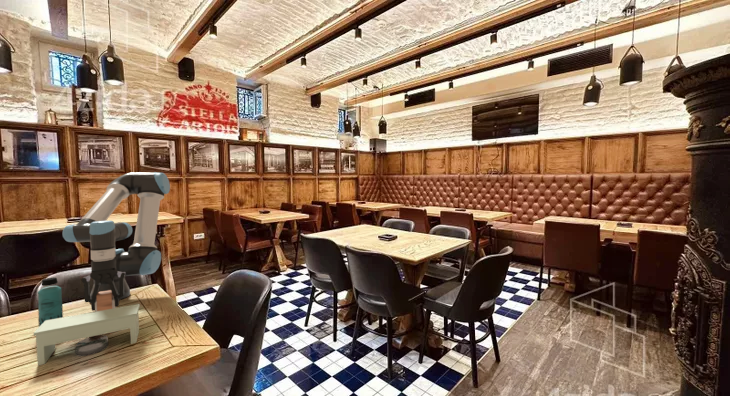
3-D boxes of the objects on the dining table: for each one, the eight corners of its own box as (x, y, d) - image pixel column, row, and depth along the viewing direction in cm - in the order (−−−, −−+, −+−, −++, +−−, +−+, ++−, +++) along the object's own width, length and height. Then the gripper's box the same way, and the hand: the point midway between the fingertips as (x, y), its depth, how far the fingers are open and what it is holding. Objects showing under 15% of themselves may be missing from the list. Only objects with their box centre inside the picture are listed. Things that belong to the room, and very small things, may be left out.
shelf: (47, 350, 99) (45, 320, 99) (140, 330, 113) (139, 303, 112) (35, 366, 91) (33, 333, 90) (138, 342, 104) (136, 313, 104)
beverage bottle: (39, 330, 113) (36, 278, 112) (63, 324, 118) (61, 274, 117) (38, 336, 108) (35, 282, 108) (64, 329, 113) (61, 278, 112)
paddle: (99, 315, 122) (98, 291, 121) (114, 313, 124) (113, 289, 124) (86, 339, 103) (84, 311, 102) (103, 336, 105) (101, 308, 105)
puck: (79, 347, 101) (78, 339, 101) (110, 341, 105) (109, 332, 105) (72, 359, 94) (72, 350, 94) (105, 351, 99) (105, 342, 99)
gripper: (71, 264, 112) (73, 325, 113) (130, 258, 122) (132, 314, 123) (76, 260, 119) (79, 317, 119) (132, 254, 128) (134, 308, 129)
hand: (106, 315), depth 121 cm, fingers closed on paddle, 4 cm apart
